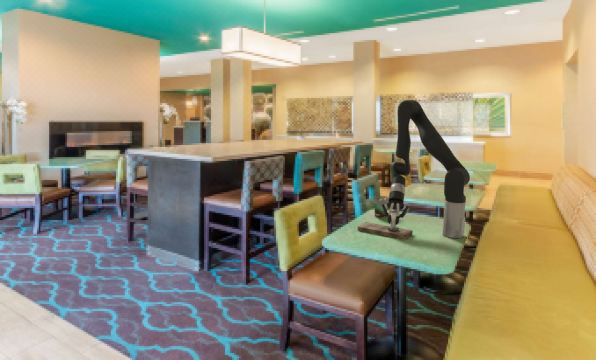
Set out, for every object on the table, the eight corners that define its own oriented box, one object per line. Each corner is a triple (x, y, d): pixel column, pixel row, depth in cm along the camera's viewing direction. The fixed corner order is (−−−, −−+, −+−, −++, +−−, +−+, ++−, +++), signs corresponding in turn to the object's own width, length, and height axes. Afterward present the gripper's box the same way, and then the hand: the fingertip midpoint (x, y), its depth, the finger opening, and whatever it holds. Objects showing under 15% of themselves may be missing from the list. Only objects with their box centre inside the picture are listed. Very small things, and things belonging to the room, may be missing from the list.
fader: (398, 229, 187) (399, 209, 186) (395, 231, 184) (396, 211, 182) (390, 227, 190) (391, 208, 188) (387, 229, 186) (388, 210, 185)
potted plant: (383, 218, 214) (384, 201, 212) (373, 217, 217) (374, 200, 216) (392, 214, 223) (393, 197, 222) (382, 212, 227) (383, 196, 225)
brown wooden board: (412, 234, 187) (412, 230, 186) (405, 239, 179) (405, 235, 178) (365, 225, 201) (366, 221, 200) (357, 230, 193) (357, 226, 192)
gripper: (382, 189, 193) (377, 218, 184) (411, 191, 188) (407, 221, 179) (383, 197, 199) (379, 225, 189) (411, 199, 194) (408, 228, 185)
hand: (393, 223), depth 184 cm, fingers closed on fader, 2 cm apart
